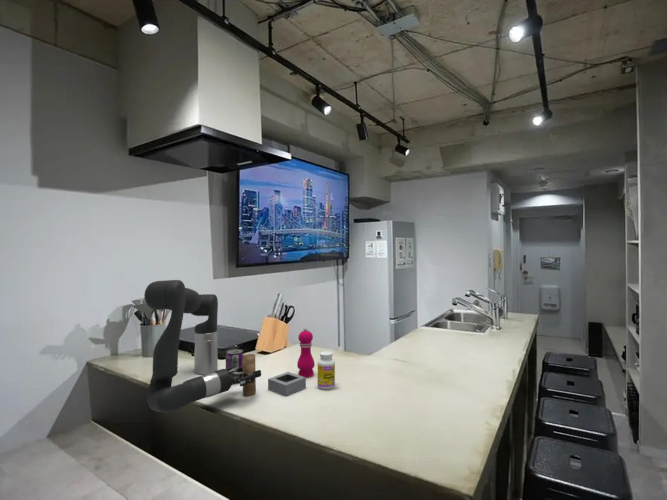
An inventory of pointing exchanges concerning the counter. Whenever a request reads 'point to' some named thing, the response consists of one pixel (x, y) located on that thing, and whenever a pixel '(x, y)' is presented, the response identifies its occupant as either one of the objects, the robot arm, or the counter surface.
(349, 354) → the counter surface
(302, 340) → the pepper mill
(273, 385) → the socket
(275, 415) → the counter surface
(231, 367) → the robot arm
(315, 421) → the counter surface
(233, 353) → the beverage can
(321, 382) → the supplement bottle
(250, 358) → the peg
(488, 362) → the counter surface
